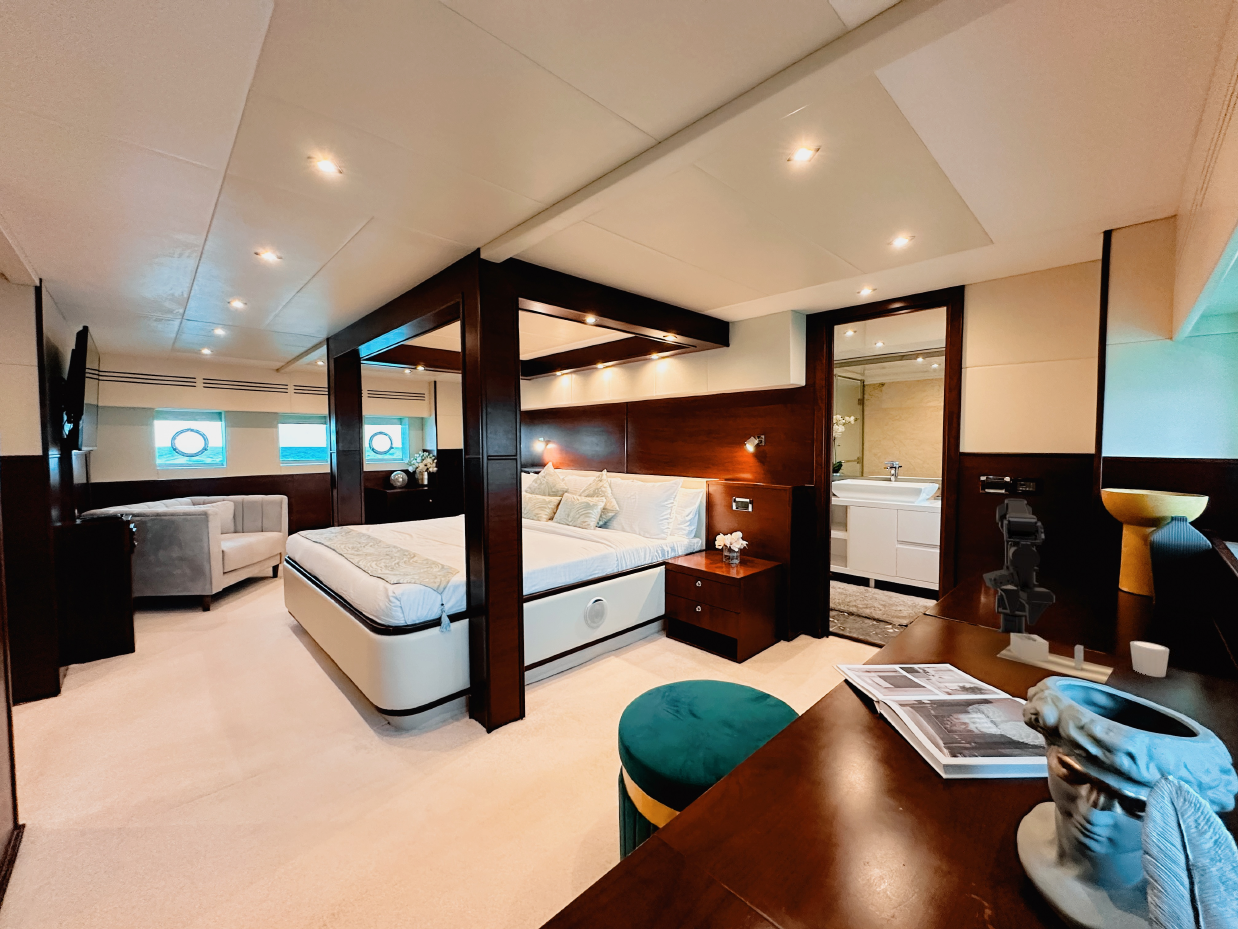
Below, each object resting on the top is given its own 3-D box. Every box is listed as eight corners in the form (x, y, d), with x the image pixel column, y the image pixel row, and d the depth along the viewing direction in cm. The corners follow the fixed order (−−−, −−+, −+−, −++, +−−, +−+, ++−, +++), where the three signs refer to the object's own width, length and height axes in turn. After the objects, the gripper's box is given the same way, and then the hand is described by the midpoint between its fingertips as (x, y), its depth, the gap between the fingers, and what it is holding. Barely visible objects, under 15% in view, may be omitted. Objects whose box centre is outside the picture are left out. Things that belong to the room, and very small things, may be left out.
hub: (1010, 650, 137) (1010, 632, 137) (1036, 653, 135) (1036, 634, 135) (1021, 658, 131) (1021, 639, 131) (1048, 661, 129) (1048, 642, 129)
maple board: (1010, 649, 141) (1011, 644, 141) (1113, 674, 125) (1113, 668, 125) (996, 661, 133) (996, 655, 133) (1104, 689, 116) (1104, 683, 116)
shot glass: (1177, 678, 123) (1177, 650, 123) (1149, 678, 123) (1149, 650, 123) (1148, 667, 130) (1148, 640, 130) (1122, 666, 130) (1122, 640, 130)
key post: (1076, 666, 126) (1077, 644, 126) (1083, 667, 125) (1083, 646, 125) (1074, 668, 125) (1074, 647, 125) (1080, 670, 124) (1081, 648, 124)
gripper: (971, 554, 145) (971, 607, 145) (1005, 568, 126) (1005, 628, 127) (1015, 556, 142) (1015, 610, 142) (1056, 570, 124) (1056, 631, 124)
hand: (1021, 619), depth 134 cm, fingers open, 9 cm apart
